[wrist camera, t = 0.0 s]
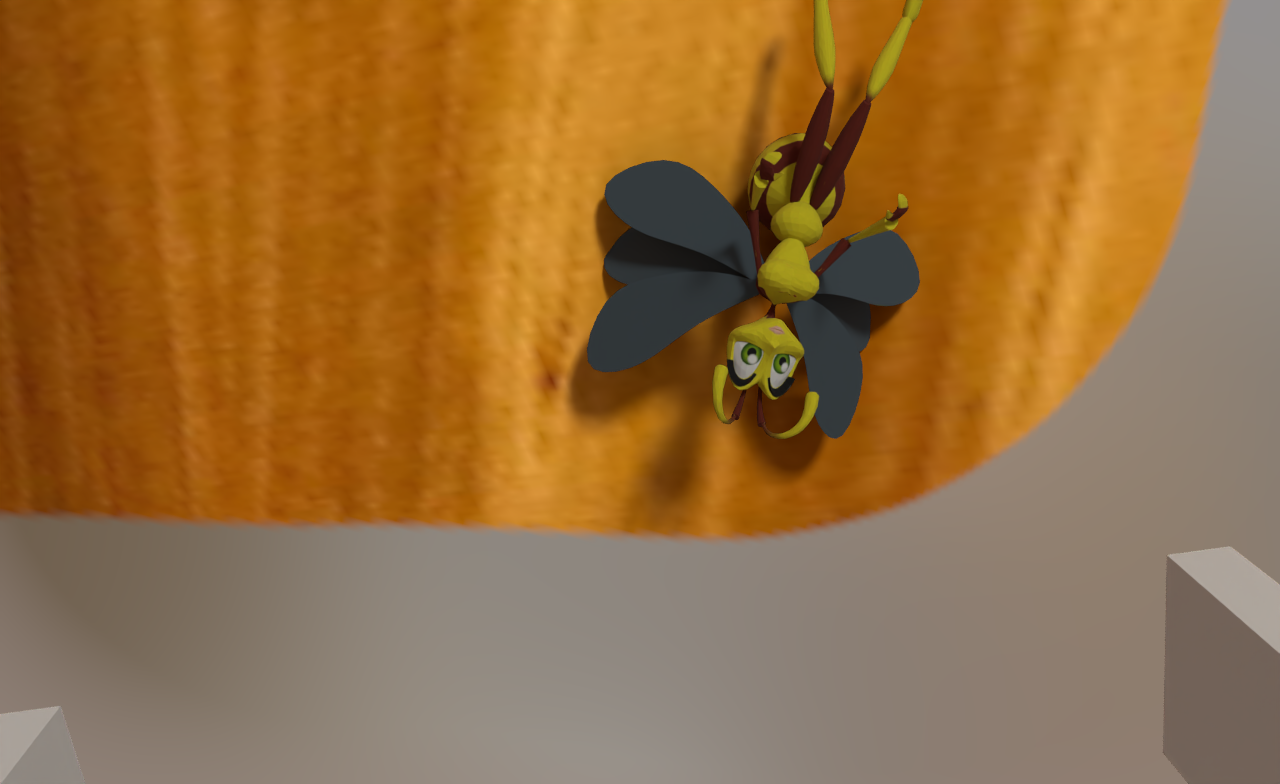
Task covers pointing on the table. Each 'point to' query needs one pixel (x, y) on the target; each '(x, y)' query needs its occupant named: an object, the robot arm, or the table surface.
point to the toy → (760, 260)
